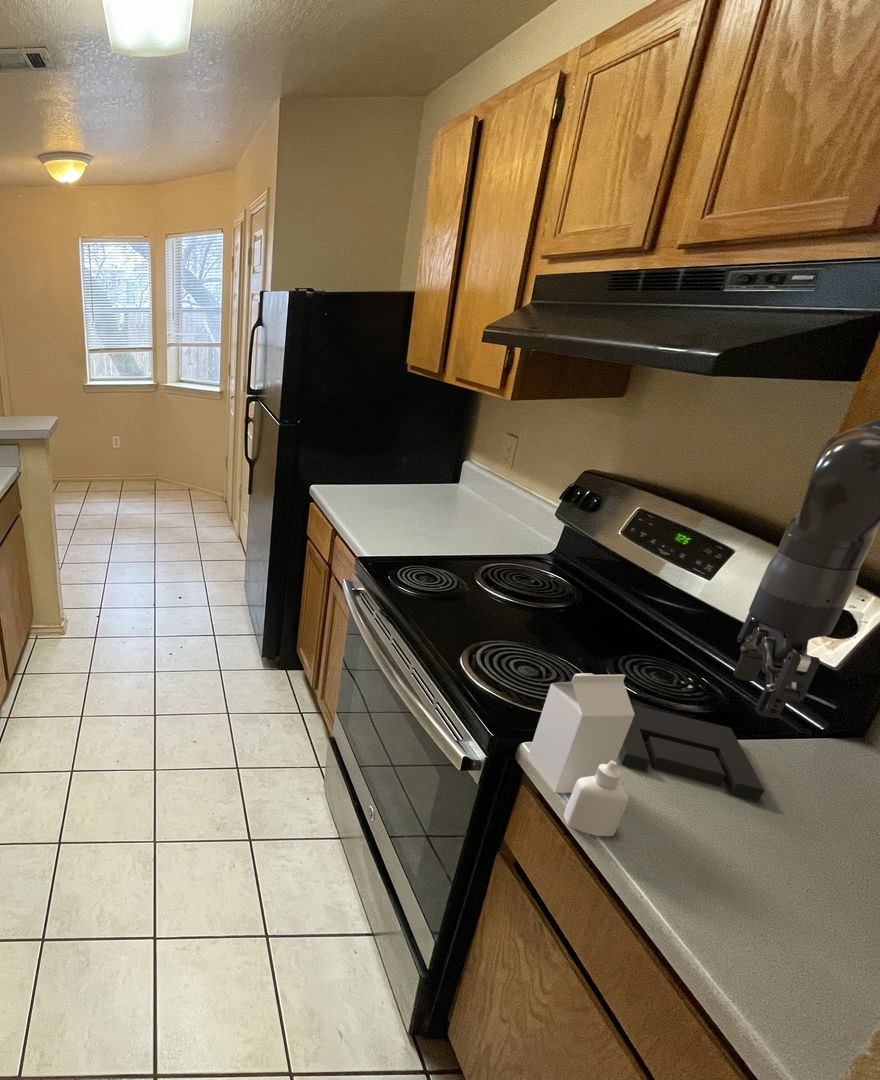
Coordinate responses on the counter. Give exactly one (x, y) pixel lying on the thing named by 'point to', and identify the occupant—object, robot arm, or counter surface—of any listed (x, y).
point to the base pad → (696, 735)
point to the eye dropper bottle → (597, 802)
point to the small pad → (685, 760)
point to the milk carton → (580, 728)
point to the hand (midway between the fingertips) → (753, 696)
